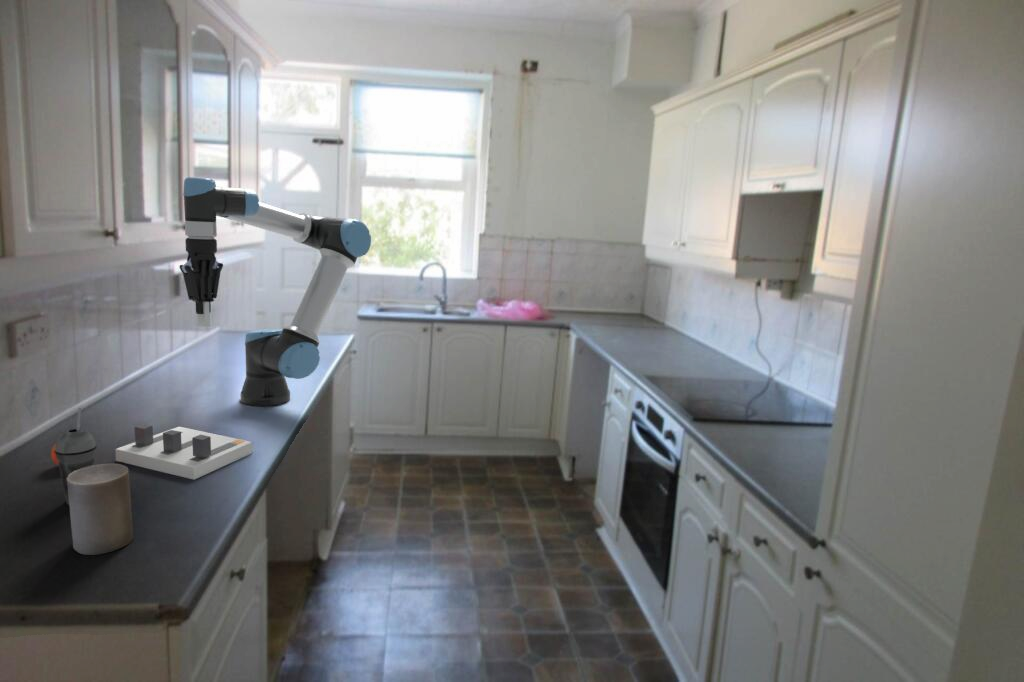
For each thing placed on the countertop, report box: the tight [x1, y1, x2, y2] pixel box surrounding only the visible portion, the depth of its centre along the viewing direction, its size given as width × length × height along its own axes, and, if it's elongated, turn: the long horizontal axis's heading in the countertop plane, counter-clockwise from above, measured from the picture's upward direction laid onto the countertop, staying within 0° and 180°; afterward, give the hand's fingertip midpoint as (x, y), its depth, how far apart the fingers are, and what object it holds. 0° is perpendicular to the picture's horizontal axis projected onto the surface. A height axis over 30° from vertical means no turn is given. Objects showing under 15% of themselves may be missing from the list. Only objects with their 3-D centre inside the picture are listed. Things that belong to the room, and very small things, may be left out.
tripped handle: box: [192, 435, 211, 458], centre depth 155 cm, size 2×3×4 cm
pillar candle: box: [66, 463, 135, 556], centre depth 120 cm, size 10×10×15 cm
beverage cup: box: [54, 407, 98, 506], centre depth 135 cm, size 7×7×20 cm
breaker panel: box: [115, 423, 253, 481], centre depth 162 cm, size 19×24×8 cm
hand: (203, 325), depth 177 cm, fingers closed
